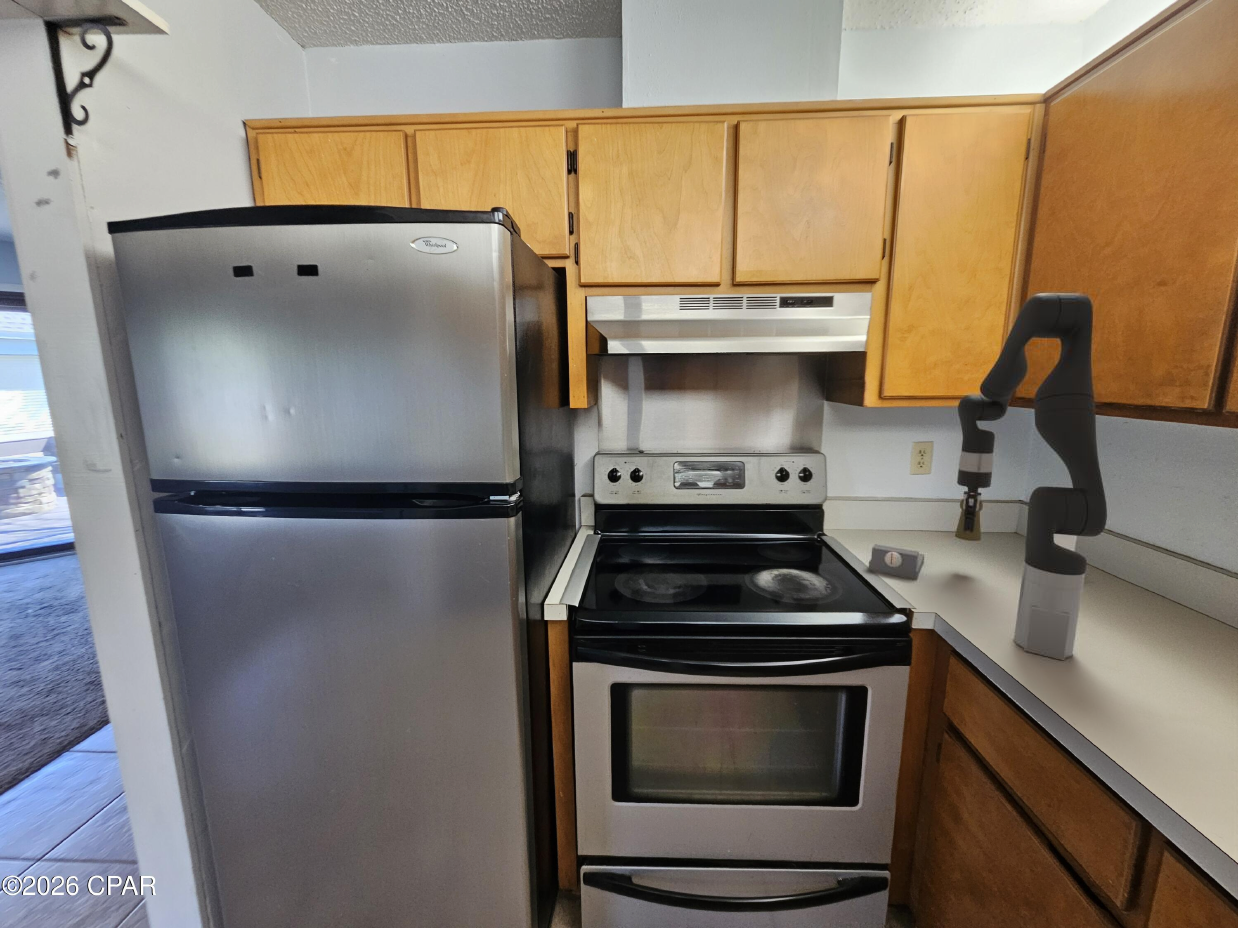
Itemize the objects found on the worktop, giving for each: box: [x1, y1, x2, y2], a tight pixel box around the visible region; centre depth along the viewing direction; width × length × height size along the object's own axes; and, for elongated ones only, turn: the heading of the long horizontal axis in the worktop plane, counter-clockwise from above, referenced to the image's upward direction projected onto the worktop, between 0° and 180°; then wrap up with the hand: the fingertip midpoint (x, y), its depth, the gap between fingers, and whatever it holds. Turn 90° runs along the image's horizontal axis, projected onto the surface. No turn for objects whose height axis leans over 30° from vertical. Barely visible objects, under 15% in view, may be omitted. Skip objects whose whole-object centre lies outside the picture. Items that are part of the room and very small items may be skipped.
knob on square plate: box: [868, 543, 925, 581], centre depth 145 cm, size 16×12×7 cm
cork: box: [954, 498, 984, 542], centre depth 137 cm, size 6×6×11 cm
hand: (968, 529), depth 138 cm, fingers closed on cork, 3 cm apart
